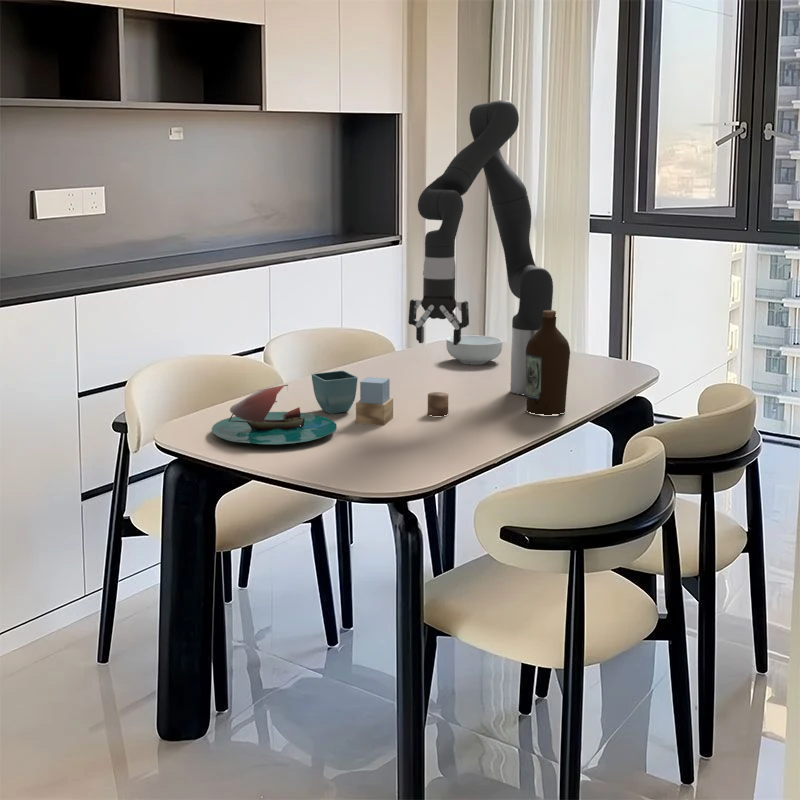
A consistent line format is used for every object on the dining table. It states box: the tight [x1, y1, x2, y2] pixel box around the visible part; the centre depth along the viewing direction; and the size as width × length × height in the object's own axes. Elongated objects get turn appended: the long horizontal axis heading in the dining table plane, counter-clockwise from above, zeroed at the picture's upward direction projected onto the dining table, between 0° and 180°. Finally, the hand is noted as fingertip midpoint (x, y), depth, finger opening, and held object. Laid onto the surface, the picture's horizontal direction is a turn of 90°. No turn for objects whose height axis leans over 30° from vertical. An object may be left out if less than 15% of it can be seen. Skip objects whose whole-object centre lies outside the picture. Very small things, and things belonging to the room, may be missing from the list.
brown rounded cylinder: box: [427, 391, 449, 417], centre depth 266 cm, size 5×5×5 cm
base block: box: [355, 397, 394, 426], centre depth 260 cm, size 7×7×5 cm
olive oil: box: [525, 310, 571, 415], centre depth 266 cm, size 11×11×25 cm
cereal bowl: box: [445, 334, 503, 366], centre depth 328 cm, size 17×17×7 cm
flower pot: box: [311, 370, 359, 415], centre depth 268 cm, size 9×9×9 cm
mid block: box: [359, 376, 391, 404], centre depth 259 cm, size 6×6×5 cm
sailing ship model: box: [211, 384, 338, 445], centre depth 247 cm, size 28×28×11 cm
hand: (438, 343), depth 263 cm, fingers open, 8 cm apart
